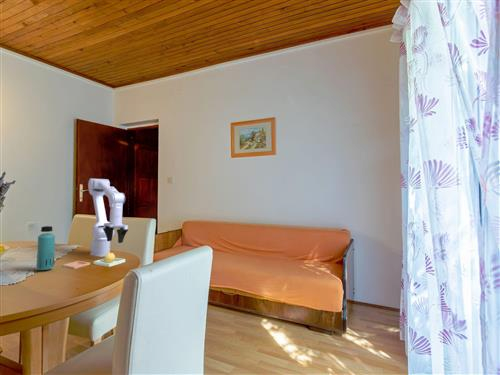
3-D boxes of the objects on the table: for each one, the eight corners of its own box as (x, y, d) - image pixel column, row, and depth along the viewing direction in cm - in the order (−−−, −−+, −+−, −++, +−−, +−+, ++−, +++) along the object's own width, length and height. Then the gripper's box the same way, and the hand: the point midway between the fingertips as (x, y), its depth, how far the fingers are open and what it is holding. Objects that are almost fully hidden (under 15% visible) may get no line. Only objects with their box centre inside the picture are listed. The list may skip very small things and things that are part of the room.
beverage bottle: (44, 274, 117) (46, 227, 117) (31, 272, 119) (33, 226, 119) (57, 269, 124) (59, 225, 124) (45, 268, 125) (47, 225, 125)
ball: (101, 263, 134) (101, 253, 134) (110, 261, 139) (110, 251, 139) (108, 265, 132) (108, 254, 132) (117, 262, 137) (117, 252, 137)
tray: (93, 265, 133) (93, 261, 133) (110, 260, 142) (110, 256, 142) (109, 267, 129) (109, 264, 129) (125, 262, 139) (125, 259, 139)
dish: (62, 267, 127) (62, 264, 127) (78, 263, 135) (78, 260, 135) (74, 269, 125) (74, 267, 125) (90, 265, 132) (90, 262, 132)
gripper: (99, 215, 141) (98, 241, 141) (120, 217, 136) (119, 244, 136) (110, 214, 148) (109, 239, 148) (131, 216, 143) (130, 242, 143)
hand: (114, 241), depth 142 cm, fingers open, 7 cm apart
